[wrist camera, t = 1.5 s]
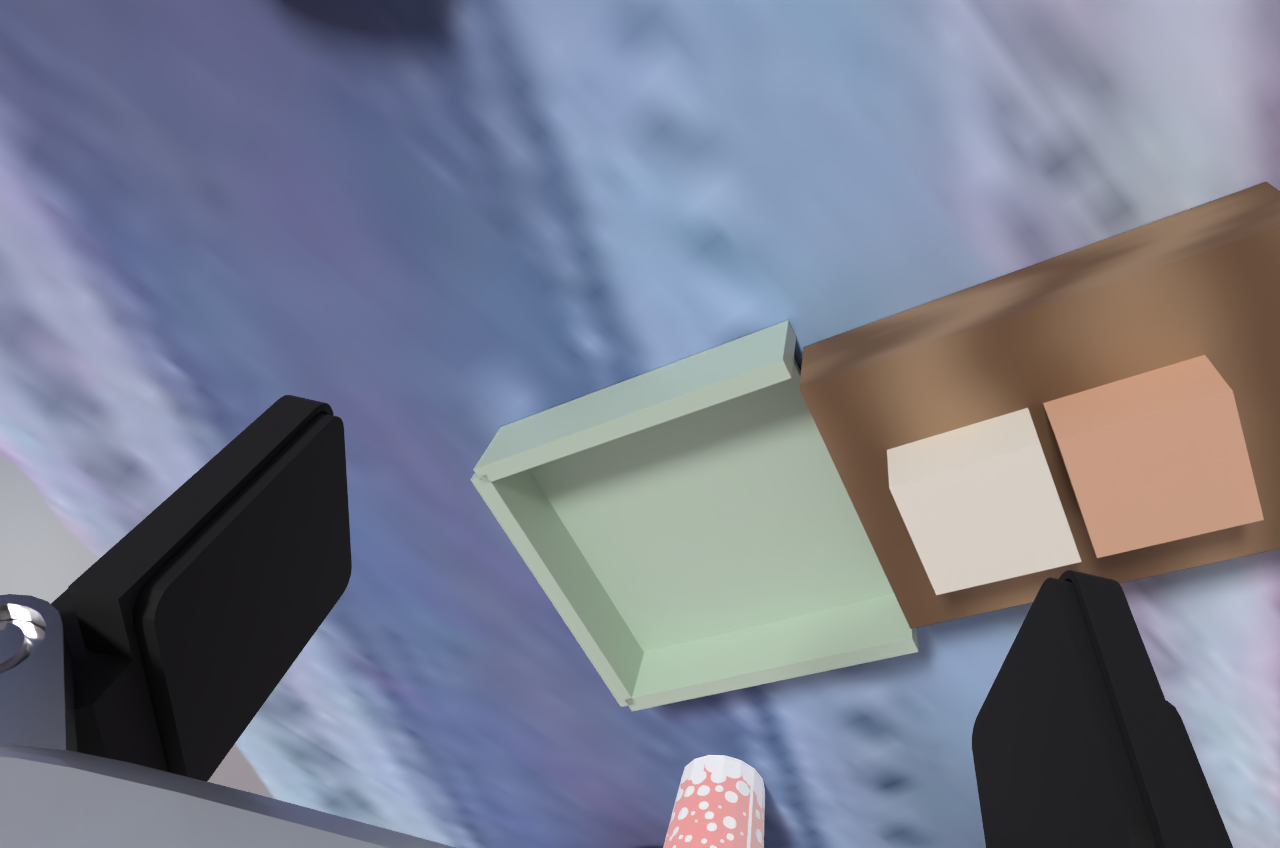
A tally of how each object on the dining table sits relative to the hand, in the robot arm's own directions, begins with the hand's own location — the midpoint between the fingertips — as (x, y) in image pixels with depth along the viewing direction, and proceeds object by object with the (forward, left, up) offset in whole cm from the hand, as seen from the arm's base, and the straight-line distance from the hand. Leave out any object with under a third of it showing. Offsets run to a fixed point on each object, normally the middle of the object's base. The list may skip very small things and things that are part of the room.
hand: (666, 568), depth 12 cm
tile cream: (-2, +14, -20) cm, 24 cm away
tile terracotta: (-8, +14, -20) cm, 25 cm away
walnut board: (-6, +14, -23) cm, 28 cm away
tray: (+9, +14, -23) cm, 29 cm away
